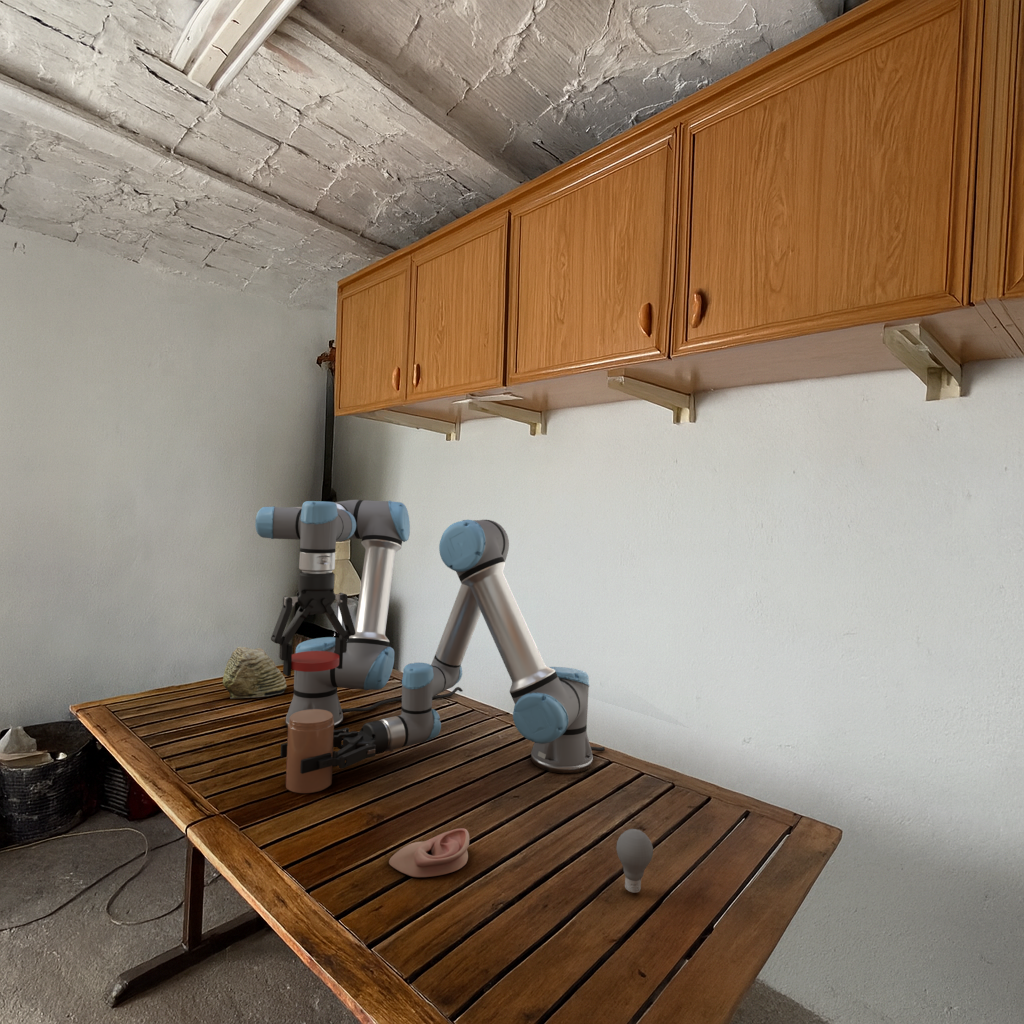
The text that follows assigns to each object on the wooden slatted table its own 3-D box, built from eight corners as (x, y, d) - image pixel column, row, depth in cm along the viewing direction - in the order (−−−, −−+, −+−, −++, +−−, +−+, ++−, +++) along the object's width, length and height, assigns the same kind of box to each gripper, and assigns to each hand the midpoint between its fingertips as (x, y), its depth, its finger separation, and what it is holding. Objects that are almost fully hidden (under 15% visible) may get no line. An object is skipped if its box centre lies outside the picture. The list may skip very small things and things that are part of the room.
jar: (316, 769, 147) (319, 705, 146) (340, 783, 140) (343, 716, 140) (277, 782, 139) (279, 715, 139) (300, 797, 133) (303, 727, 133)
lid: (298, 657, 145) (299, 649, 145) (345, 660, 144) (345, 652, 144) (279, 670, 134) (279, 661, 134) (329, 673, 134) (329, 664, 134)
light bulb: (610, 879, 108) (613, 822, 108) (644, 879, 109) (647, 822, 109) (619, 902, 102) (622, 840, 102) (655, 901, 103) (658, 840, 103)
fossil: (218, 695, 195) (220, 647, 195) (278, 685, 208) (279, 640, 207) (228, 703, 189) (230, 653, 188) (289, 692, 201) (290, 645, 201)
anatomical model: (382, 848, 108) (407, 816, 119) (381, 871, 108) (406, 837, 119) (457, 861, 105) (475, 826, 116) (456, 884, 105) (474, 848, 116)
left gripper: (268, 575, 129) (264, 682, 129) (373, 571, 143) (369, 667, 144) (256, 571, 135) (253, 674, 135) (359, 567, 149) (355, 660, 150)
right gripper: (406, 767, 144) (313, 795, 129) (358, 737, 160) (270, 758, 145) (408, 734, 143) (314, 758, 128) (359, 707, 160) (271, 726, 145)
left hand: (313, 671), depth 139 cm, fingers closed on lid, 11 cm apart
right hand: (291, 758), depth 137 cm, fingers closed on jar, 10 cm apart
